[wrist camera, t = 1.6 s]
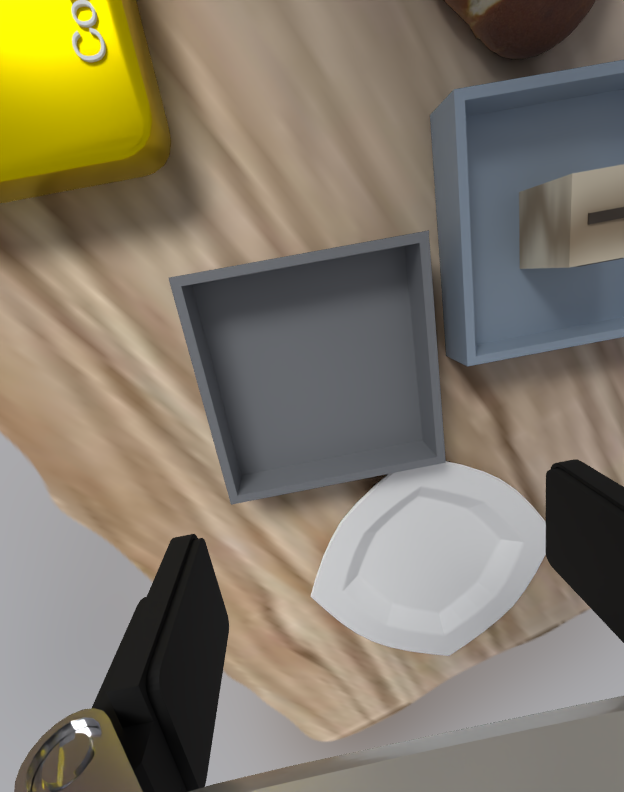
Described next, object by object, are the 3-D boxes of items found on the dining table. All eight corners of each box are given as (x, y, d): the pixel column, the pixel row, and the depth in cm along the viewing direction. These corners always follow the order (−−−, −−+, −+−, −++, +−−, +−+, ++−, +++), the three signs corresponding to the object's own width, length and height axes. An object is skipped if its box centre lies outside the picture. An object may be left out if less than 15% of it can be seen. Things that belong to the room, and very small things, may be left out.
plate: (282, 588, 36) (282, 605, 34) (401, 417, 31) (409, 426, 30) (444, 656, 40) (452, 675, 38) (568, 514, 36) (584, 527, 34)
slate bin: (430, 114, 25) (453, 89, 21) (669, 73, 25) (730, 41, 22) (446, 355, 30) (467, 366, 26) (646, 318, 30) (693, 323, 27)
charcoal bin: (182, 277, 27) (168, 277, 23) (409, 236, 27) (428, 230, 24) (236, 479, 32) (231, 504, 28) (428, 442, 32) (445, 462, 28)
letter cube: (519, 192, 26) (574, 172, 21) (590, 179, 26) (661, 157, 21) (519, 270, 28) (570, 269, 23) (587, 258, 28) (652, 254, 23)
